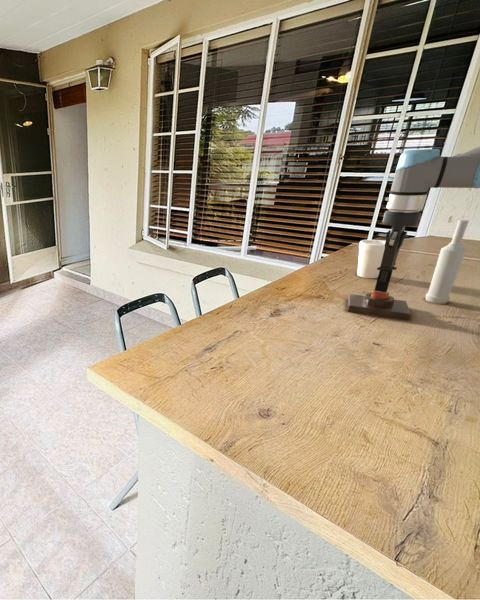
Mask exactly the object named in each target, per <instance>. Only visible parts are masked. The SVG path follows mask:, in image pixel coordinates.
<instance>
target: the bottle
mask: <svg viewBox="0 0 480 600" xmlns="http://www.w3.org/2000/svg"><path fill="white" fill-rule="evenodd" d="M469 223H470V220H468V219H458V221H457V224H456V228H455V231H454V233H453V237H452V239H451V242H449V243H448V244H447V245H445V246H443V247H441V249H440V251H439V254H438V258H437V262H436V265H435V268H434V272H433V276H432V279H431V282H430V284H429V288H428V292H427V293H426V294H425V301H426V302H429V303H433V304H439V305H442V304H443V305H444V304H447V303H448V302H449V300H450V293H451V291H452V288H453V286H454V284H455V281H456V278H457V276H458V273H459V271H460V268H461V266H462V263H463V260H464V258H465V256H466V253H467V249H466V248H465V247H463V243H462V241H463V238H464V236H465V232H466V230H467V227H468V224H469Z"/></svg>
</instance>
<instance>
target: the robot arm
mask: <svg viewBox="0 0 480 600" xmlns="http://www.w3.org/2000/svg"><path fill="white" fill-rule="evenodd" d="M440 153H441V151H440V149H439V148H426V149H425V148H424V149H422V148H421V149H408V150H405V151H403V152H402V153H401V154H400V155H399V158H398V163H397V165H396V168H395V172H394V175H393V180H392V183H391V184H392V185H391V188H390V192H389V196H387V197H385V201H386V202H387V204H386V210H385V211H384V214H383V218H382V221H381V222H382V224H383V225H385V226H391V229H388V231H387V232H386V235H385V241H386V242H385V249H384V253H383V258H382V262H381V266H380V267H378V268H377V270H380V272H379V275H378V278H376V283H375V286H374V290H375V291H381V292H388V288H389V285H390V282H391V278H392V275H393V271H394V270H395V271H396V270H397V267H396V261H397V258H398V256H399V252H400V249H401V247H402V246H403V244H404V241H405V238H406V237H407V234H408V231H407V230H406V227H408V228H411V227H417V226H418V225H419V222H420V219H421V216H422V212H421V211H422V210H423V209H424V206H425V203H426V200H427V196H428V191H429V190H430V189H431V188H432V189H438V188H440V189H441V188H443V189H444V188H447V189H450V188H451V189H480V146H477V147H474V148H472V149H470V150H467V151H465V152H462V153H457V154H455V155H453V156H441V154H440Z"/></svg>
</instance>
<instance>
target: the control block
mask: <svg viewBox="0 0 480 600" xmlns="http://www.w3.org/2000/svg"><path fill="white" fill-rule="evenodd" d="M371 293H372V292H368V293H367V292H366V293H365V294H364V295H361V294H354V293H353V294H352V293H348V296H347V312H350V313H356V314H363V315H370V316H378V317H383V318H391V319H398V320H403V321H410V319H411V316H412V312H411V311H410V307H409V305H408V303H407V301H406V300H401V299H395V297H393V296H391V295H389V297H388V300H380V299H374V298H372V297H371Z"/></svg>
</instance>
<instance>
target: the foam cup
mask: <svg viewBox="0 0 480 600" xmlns="http://www.w3.org/2000/svg"><path fill="white" fill-rule="evenodd" d="M385 242H386V240H383V239H361V240H360V241H359V245H358V258H357V259H358V262H357V271H356V273H357V274H356V275H357V276H358V277H361V278H365V279H378V275H379V272H380V270H377V268H378V267H380V266H381V262H382V258H383V253H384V249H385Z"/></svg>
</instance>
